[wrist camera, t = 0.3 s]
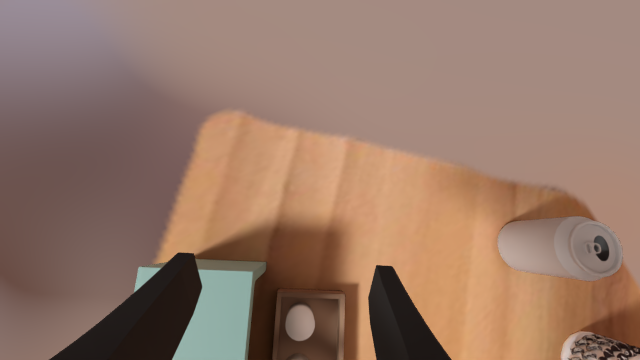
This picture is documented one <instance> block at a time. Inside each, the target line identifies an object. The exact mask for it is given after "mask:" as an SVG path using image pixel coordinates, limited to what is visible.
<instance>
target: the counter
mask: <svg viewBox="0 0 640 360" xmlns="http://www.w3.org/2000/svg"><path fill="white" fill-rule="evenodd" d="M195 260H196V264H197V267H198V271H199V275H200V279H201V283H202V290H201V293H200V297H199V300H198V303H197V305H196V308H195V311H194V314H193V316H192V318H191V320H190V323H189V325H188V327H187V329H186V331H185V333H184V336H183V338H182V340H181V342H180V344H179V346H178V348H177V350H176V352H175V355H174V357H173V359H172V360H248V349H249V338H250V328H251V317H252V306H253V295H254V285H255V281H256V280H257V279H258V278H259V277H260V276H261V275H262V274H263V273H264V272H265V271H266V263H267V262H255V261H232V260H209V259H195ZM166 263H167V262H165V263H159V264H154V265H148V266H142V267H139V269H138V274H137V280H136V285H135V291H137V290H138V289H139V288H140V287H141V286H142V285H143V284H145V283H146V282H147V281H148V280H149V279H150V278H151V277H152V276H153V275H154V274H155V273H157V272H158V271H159V270H160V269H161V268H162V267H163V266H164V265H165V264H166ZM135 291H134V292H135Z"/></svg>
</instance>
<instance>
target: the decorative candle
mask: <svg viewBox="0 0 640 360" xmlns="http://www.w3.org/2000/svg"><path fill="white" fill-rule="evenodd" d="M561 360H640V348H637V347H635V346H629V345H628V344H626V343H622V342H620V341H618V340H614V339H611V338H608V337H605V336H601V335H598V334H594V333H592V332H585V331H578V332H576V333H574V334H571V335H570V336H569V337H568V338H567V340H566V341H565V342H564V343H563V347H562V351H561Z"/></svg>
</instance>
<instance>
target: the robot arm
mask: <svg viewBox="0 0 640 360" xmlns="http://www.w3.org/2000/svg"><path fill="white" fill-rule="evenodd" d="M201 290H202V283H201V279H200V275H199V271H198V267H197V264H196V260H195V256H194V254H193V253H177V254H176V255H175V256H174V257H173V258H172V259H171V260H170V261H168V262H167V263H166V264H165V265H164V266H163V267H162V268H161V269H160V270H159V271H158V272H157V273H155V274H154V275H153V276H152V277H151V278H150V279H149V280H148V281H147V282H146V283H145V284H143V285H142V286H141V287H140V288H139V289H138V290H137V291H135V292H134V293H133V294H132V295H131V296H130V297H129V298H128V299H126V300H125V301H124V302H123V303H122V304H121V305H119V306H118V307H117V308H116V309H115V310H114V311H112V312H111V313H110V314H109V315H107V316H106V317H105V318H104V319H103V320H102V321H100V322H99V323H98V324H96V325H95V326H94V327H93V328H91V329H90V330H89V331H88V332H86V333H85V334H84V335H82V336H81V337H80V338H78V339H77V340H76V341H74V342H73V343H72V344H70V345H69V346H68V347H67V348H65V349H64V350H62V351H61V352H59V353H58V354H57V355H55V356H54V357H52V358H51V359H50V360H172V359H173V357H174V355H175V352H176V350H177V348H178V346H179V344H180V342H181V340H182V338H183V336H184V333H185V331H186V329H187V327H188V325H189V323H190V320H191V318H192V316H193V314H194V311H195V308H196V305H197V303H198V300H199V297H200V293H201ZM368 300H369V314H370V325H371V331H372V336H373V342H374V348H375V353H376V359H377V360H451V358H450V357H449V356H448V354H447V353H446V352H445V350H444V349H443V347H442V346H441V345H440V343H439V342H438V340H437V339H436V337H435V336H434V335H433V333H432V332H431V330H430V329H429V327H428V326H427V324H426V323H425V321H424V319H423V318H422V316H421V315H420V313H419V312H418V310H417V308H416V307H415V305H414V304H413V302H412V300H411V299H410V297H409V295H408V293H407V292H406V290H405V288H404V286H403V285H402V283H401V281H400V279H399V277H398V275H397V274H396V272H395V270H394V268H393V267H392V266H381V265H376V269H375V273H374V277H373V281H372V285H371V289H370V293H369V297H368Z"/></svg>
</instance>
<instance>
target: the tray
mask: <svg viewBox="0 0 640 360" xmlns="http://www.w3.org/2000/svg"><path fill="white" fill-rule="evenodd" d="M296 302H305V303H307V304H308V305H309V306H310V307H311V308H312V311H313V315H314V320H315V328H314V331H313V333H312V335H311V336H310V337H309V338H307V339H306V340H303V341H296V340H294V339H292V338H291V337H290V336H289V335H288V334H287V331H286V327H285V324H286V317H287V312H288V309H289V308H290V306H291V305H293V304H294V303H296ZM344 318H345V294H344V292H343V291H332V290H305V289H278V292H277V303H276V317H275V330H274V343H273V356H272V360H286V359H287V358H288V357H289V356H290V355H292V354H295V353H300V354H303V355H305V356H306V357H307V358H308V360H343V356H344Z"/></svg>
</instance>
